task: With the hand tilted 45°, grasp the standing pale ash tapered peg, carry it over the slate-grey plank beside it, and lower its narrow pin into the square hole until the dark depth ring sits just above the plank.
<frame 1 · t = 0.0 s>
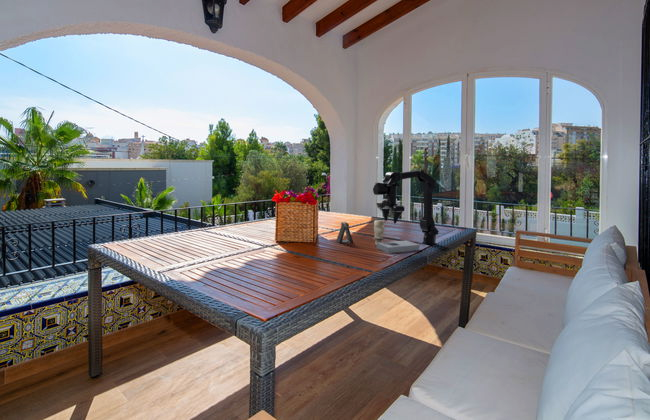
hand: (390, 222, 199), 15 cm above the table, tool pointing down, fingers open, 9 cm apart
grey plank: (397, 249, 197), on the table
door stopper: (344, 242, 214), on the table
ash peg: (378, 244, 208), on the table
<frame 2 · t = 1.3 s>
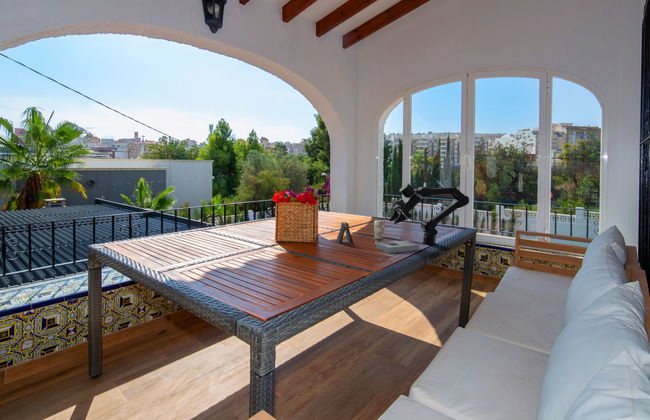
hand: (392, 222, 207), 13 cm above the table, tool tilted 45°, fingers open, 9 cm apart
nothing on the table moved.
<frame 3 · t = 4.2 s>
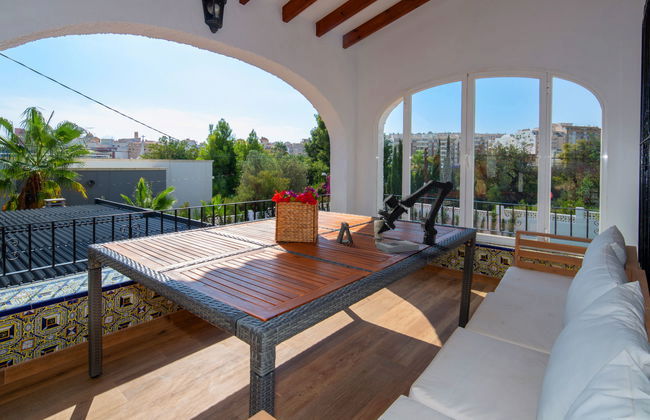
hand: (376, 232, 207), 7 cm above the table, tool tilted 45°, fingers closed on ash peg, 6 cm apart
ash peg: (378, 244, 208), on the table, touching gripper
everything else where it was.
when the fingers open (8 cm above the table, at t = 9.7 s): ash peg stays where it is, resting in grey plank.
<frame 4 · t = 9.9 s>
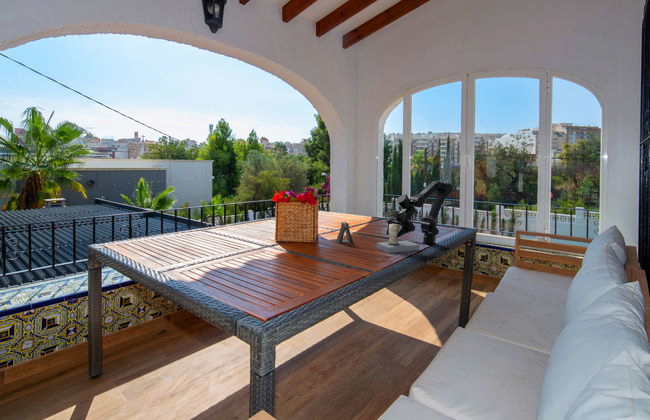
hand: (391, 235, 194), 8 cm above the table, tool tilted 45°, fingers open, 8 cm apart
ash peg: (393, 249, 196), resting in grey plank
everything else where it was.
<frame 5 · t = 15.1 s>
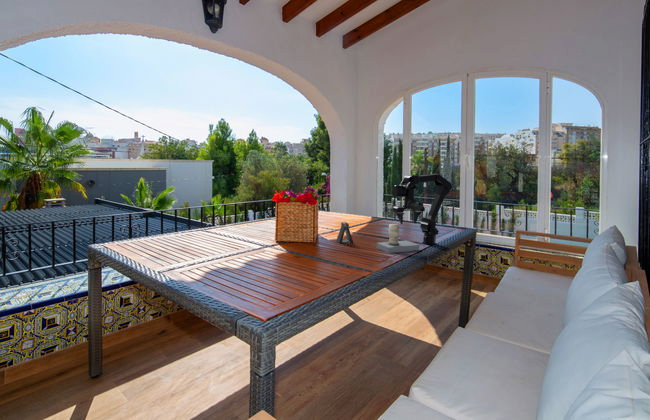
hand: (408, 223, 204), 13 cm above the table, tool pointing down, fingers open, 9 cm apart
nothing on the table moved.
at the end: ash peg 0.1 cm from the target spot on the grey plank, point 0.0 cm above the grey plank's base; ash peg tilted 0°; the gripper is holding nothing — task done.
